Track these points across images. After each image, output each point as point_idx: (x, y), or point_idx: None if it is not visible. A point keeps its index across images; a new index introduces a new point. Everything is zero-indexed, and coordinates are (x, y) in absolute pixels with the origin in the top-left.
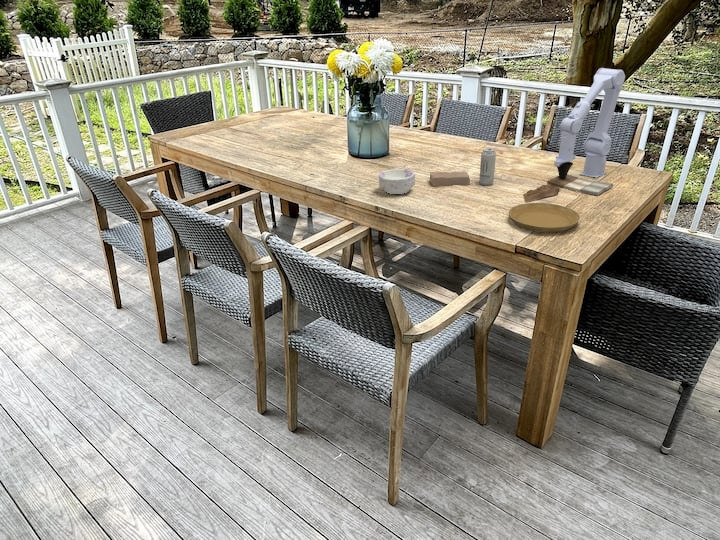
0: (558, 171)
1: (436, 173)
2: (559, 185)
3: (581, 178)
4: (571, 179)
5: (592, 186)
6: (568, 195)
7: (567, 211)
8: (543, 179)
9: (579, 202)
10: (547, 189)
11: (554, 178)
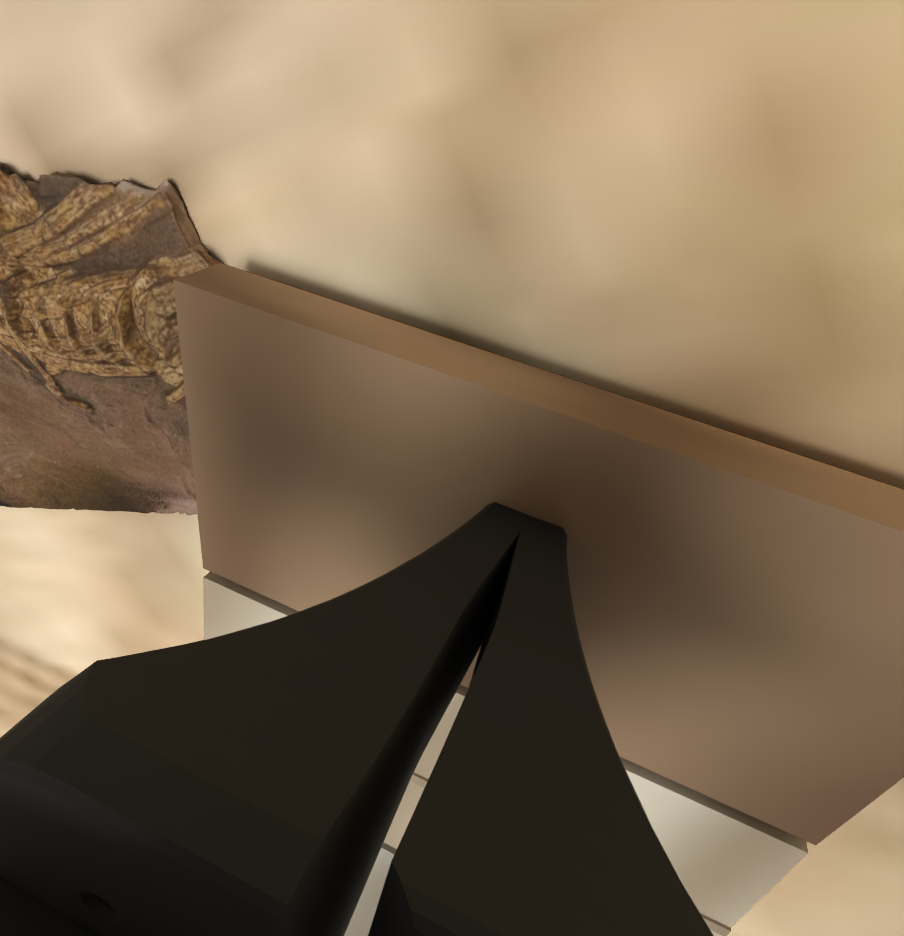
0: (374, 583)
1: None
2: (206, 515)
3: (764, 870)
4: (608, 714)
5: (380, 890)
6: (75, 607)
7: None
8: (634, 12)
9: (3, 684)
10: (17, 342)
11: (432, 401)
